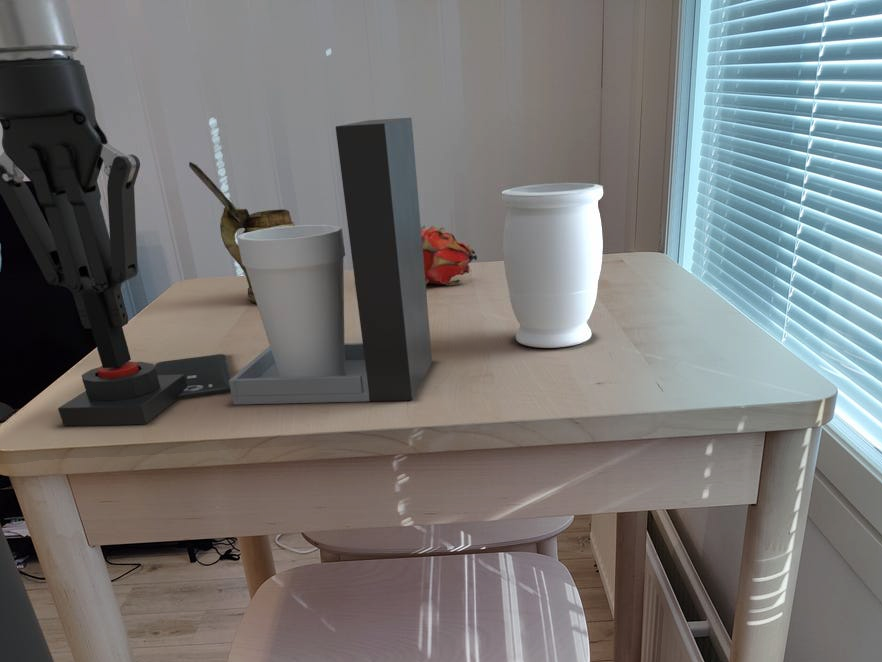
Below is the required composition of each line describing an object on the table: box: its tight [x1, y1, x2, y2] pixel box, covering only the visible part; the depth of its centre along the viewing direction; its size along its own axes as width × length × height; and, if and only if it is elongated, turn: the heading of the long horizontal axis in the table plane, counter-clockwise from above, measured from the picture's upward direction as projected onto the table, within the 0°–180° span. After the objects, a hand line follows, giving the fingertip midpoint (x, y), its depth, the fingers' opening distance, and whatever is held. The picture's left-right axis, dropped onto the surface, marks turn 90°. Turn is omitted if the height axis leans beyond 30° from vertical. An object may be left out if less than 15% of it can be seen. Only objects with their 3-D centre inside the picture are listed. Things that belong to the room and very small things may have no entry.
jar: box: [501, 182, 604, 349], centre depth 91 cm, size 11×10×15 cm
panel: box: [57, 361, 187, 427], centre depth 81 cm, size 8×10×4 cm
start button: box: [97, 360, 139, 378], centre depth 81 cm, size 4×4×2 cm
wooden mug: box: [188, 161, 296, 305], centre depth 119 cm, size 9×14×18 cm, turn 111°
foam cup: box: [236, 224, 346, 378], centre depth 82 cm, size 10×9×13 cm
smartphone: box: [155, 353, 232, 401], centre depth 90 cm, size 8×15×1 cm, turn 17°
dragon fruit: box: [421, 224, 478, 287], centre depth 125 cm, size 8×8×12 cm
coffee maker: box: [229, 117, 433, 406], centre depth 80 cm, size 17×13×22 cm
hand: (117, 363), depth 80 cm, fingers closed
